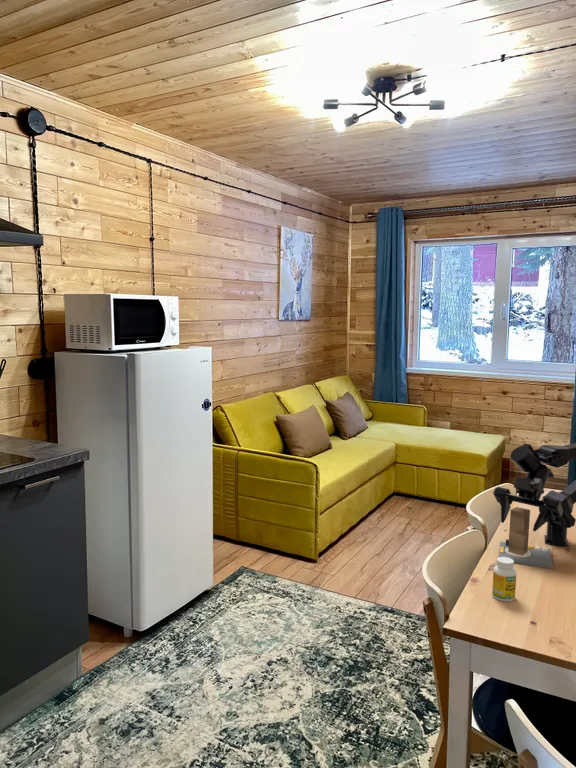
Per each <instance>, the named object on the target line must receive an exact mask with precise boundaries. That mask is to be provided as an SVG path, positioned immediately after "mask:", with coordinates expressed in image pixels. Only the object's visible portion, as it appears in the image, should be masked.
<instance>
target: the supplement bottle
mask: <svg viewBox="0 0 576 768" xmlns="http://www.w3.org/2000/svg"><path fill="white" fill-rule="evenodd" d="M514 566H515V563H514V560H512V559H511V558H507V557H499V556H498V557H496V565H494V567H493V571H492V587H491V588H492V591H491V594H492V596H493V598H494V599H496V600H498V601H500V602H505V603H507V602H509V603H510V602H512V601H514V600H516V599H515V598H516V586H517V570H516V569H515V568H514Z"/></svg>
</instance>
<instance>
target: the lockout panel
mask: <svg viewBox="0 0 576 768" xmlns="http://www.w3.org/2000/svg"><path fill="white" fill-rule="evenodd" d="M508 546H509V538H506V539H505V541H501V540H500V542H499V551H498V557H507V558H511V559H512V560H514V564H519V563H520V565H525V564H526V565H527V566H532V567H539V568H545V569H552V570H553V558H552V556H553V555H552V549H551V548H548V547H540V546H538V545H537V546H534V545H532V544H530V545H529V544H528V552H526V553H525V554H524V555H518V554H515V553H511V552H508Z"/></svg>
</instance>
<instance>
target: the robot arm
mask: <svg viewBox="0 0 576 768" xmlns="http://www.w3.org/2000/svg"><path fill="white" fill-rule="evenodd" d="M510 459H511V460H512V461H513V463H515V465H517V466H518V468H519V469H520V470H521V471H522V472H524V473H526V474H525V477H520V476H516V477H515V480H514V484H513V488H515V489H516V491H515V492H516V494H512V493H511V490H510V489H509V488H505V487H503V486H502V487H501V486H497V487H494V489H493V493H492V494H493V496H494V498H495V500H496V502H497V503H498V504H499V505H500V515H501V516H500V522H501V523H502V524H504V523H505V521H506V520H507V517H508V516H509V512H510V511H511V509H512V507H511V505H512V504H513V502H515V503H519V504H524V505H528V506H533V507H537V508H538V511H539V514H538V516H537V517H536V520H535V522H534V525H533V528H532V530H533V532H536V531H538V530H539V529H540V528H541V527H542V526H544V525H545V524H546V534H545V535H544V536H543V538H544V544H547V545H555V546H560V547H567V548H568V547H569V540H568V529H571V528H572V527H574V526H575V525H576V518H575V517H574V515H573V514H572V513H573V508H574V505H575V504H576V479H575V480H573V481H572V482H571V483H570V484H569V485H567V486H566V487H565V488H564V489H563V490H562V491H559V492H558V491H555V490H550V491H548V492H547V493H546V494H544V493H545V490H544V488H545V486H546V484H547V481H548V478H551V479H552V478H555V477H554V473H553V472H552V469H551V468H549V467H548V466H550V467H552V468H556V469H557V468H562V467H563V466H565V465H568V463H569V462H570V461H571V460H575V459H576V442H574V443H569V444H565V445H555V444H542V445H541V446H539V448H537V449H534V448H533V446H532V445H531V444H530V443H529V444H528V443H523V445H520V446H518V447H516V448H515V449H513V450H512V451H511V453H510ZM517 494H518V495H517ZM542 495H543V496H542ZM541 498H542V499H541Z"/></svg>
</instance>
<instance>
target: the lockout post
mask: <svg viewBox="0 0 576 768" xmlns="http://www.w3.org/2000/svg"><path fill="white" fill-rule="evenodd" d="M509 512H510V515H509V532H508V533H509V534H508V539H509V546H508V552H511V553H515V554H518V555H524V554H525V553H526V552H528V546H529V536H530V535H529V533H530V520H531V519H530V518H531V509H527V508H523V507H520V506H515V507H513V508H510V511H509Z"/></svg>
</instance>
